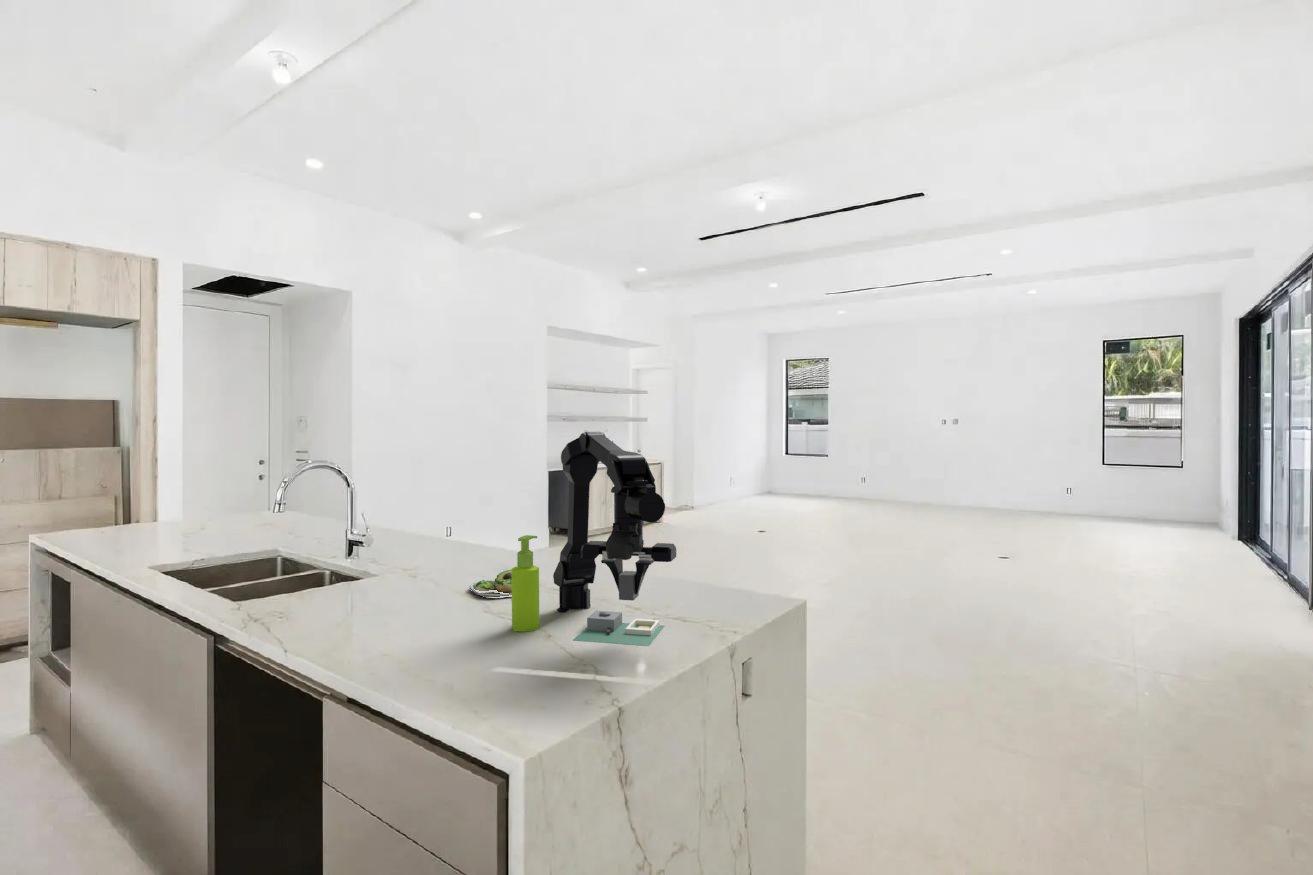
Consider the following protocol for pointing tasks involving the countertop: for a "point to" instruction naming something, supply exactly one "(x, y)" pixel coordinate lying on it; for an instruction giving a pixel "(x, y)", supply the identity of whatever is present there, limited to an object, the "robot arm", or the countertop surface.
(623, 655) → the countertop surface
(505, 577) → the salad plate
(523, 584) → the soap dispenser
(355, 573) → the countertop surface
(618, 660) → the countertop surface
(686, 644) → the countertop surface
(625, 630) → the board
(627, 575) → the plug
